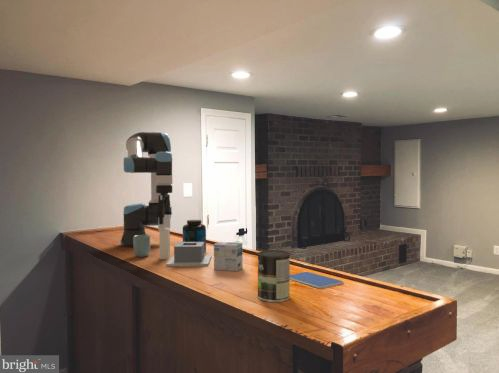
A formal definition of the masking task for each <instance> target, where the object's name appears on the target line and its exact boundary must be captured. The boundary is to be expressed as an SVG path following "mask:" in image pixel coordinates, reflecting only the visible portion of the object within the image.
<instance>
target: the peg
mask: <svg viewBox="0 0 499 373" xmlns="http://www.w3.org/2000/svg"><path fill="white" fill-rule="evenodd" d="M170 229H171V227H170V228H165V231H164V232H158V233H159V236H158V237H159V239H158V241H159V243H158V244H159V260H170V259H171V256H170V255H171V254H170V253H171V242H170V237H171V236H170V234H171V232H170Z"/></svg>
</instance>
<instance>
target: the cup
mask: <svg viewBox="0 0 499 373" xmlns="http://www.w3.org/2000/svg"><path fill="white" fill-rule="evenodd" d="M133 243H134V247H133V252H134V255H135V256H136V257H138V258H145V257H147V256H149V255H150V252H151V235H150V234H146V235H135V236H134V238H133Z"/></svg>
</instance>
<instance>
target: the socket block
mask: <svg viewBox="0 0 499 373" xmlns="http://www.w3.org/2000/svg"><path fill="white" fill-rule="evenodd" d="M211 259H212V255H208V254H207V255H205V252H204V242H183V241H178V242H177V243H176V244H175V245H174V246H173V256H172V257H170V258H169V259H168V261H167V262H166V264H165V267H208V266H209V265H210V262H211Z"/></svg>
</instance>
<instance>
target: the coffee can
mask: <svg viewBox="0 0 499 373" xmlns="http://www.w3.org/2000/svg"><path fill="white" fill-rule="evenodd" d="M290 257H291V253H290V252H288V251H285V250H279V249H278V250H276V249H275V250H272V249H269V250H261V251H258V252H257V298H258V300H260V301H262V302H266V303H282V302H286V301H287V302H288V300H289V299H290V297H291V296H290V292H291V290H290V285H291V284H290V275H291V274H290V273H291V272H290V267H291V266H290V265H291V263H290V261H291V260H290Z"/></svg>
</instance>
